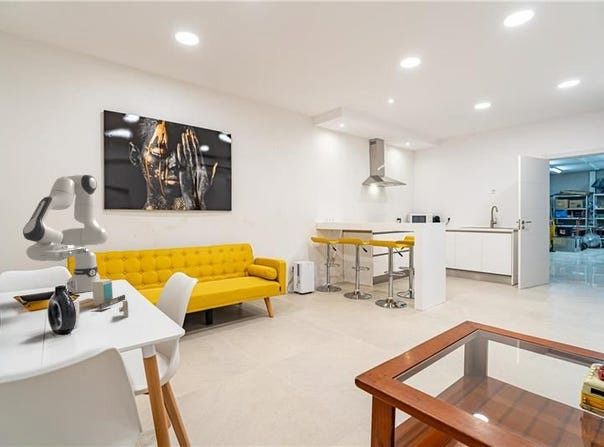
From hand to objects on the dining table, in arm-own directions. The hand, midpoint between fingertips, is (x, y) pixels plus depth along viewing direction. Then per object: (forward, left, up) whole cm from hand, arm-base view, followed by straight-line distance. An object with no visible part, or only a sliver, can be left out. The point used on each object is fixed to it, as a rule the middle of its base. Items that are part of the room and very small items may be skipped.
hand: (79, 252), depth 162 cm
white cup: (+27, -23, -28) cm, 45 cm away
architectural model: (+36, -4, -29) cm, 46 cm away
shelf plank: (+7, +1, -28) cm, 29 cm away
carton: (+12, +3, -27) cm, 29 cm away
